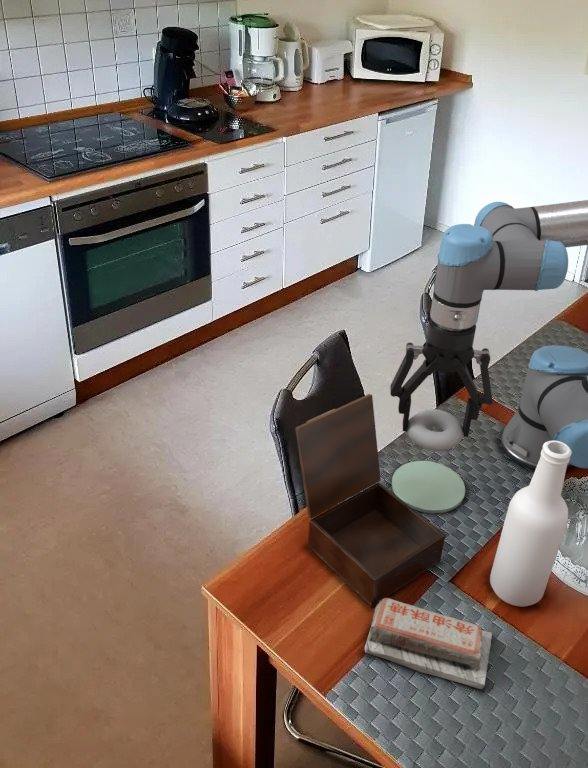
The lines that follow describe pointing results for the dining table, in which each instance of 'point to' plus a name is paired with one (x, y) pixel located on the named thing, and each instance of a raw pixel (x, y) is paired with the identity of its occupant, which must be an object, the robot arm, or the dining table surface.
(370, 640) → the packaged product
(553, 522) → the alcohol
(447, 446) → the donut
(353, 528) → the wooden box
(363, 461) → the lid
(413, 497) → the saucer
